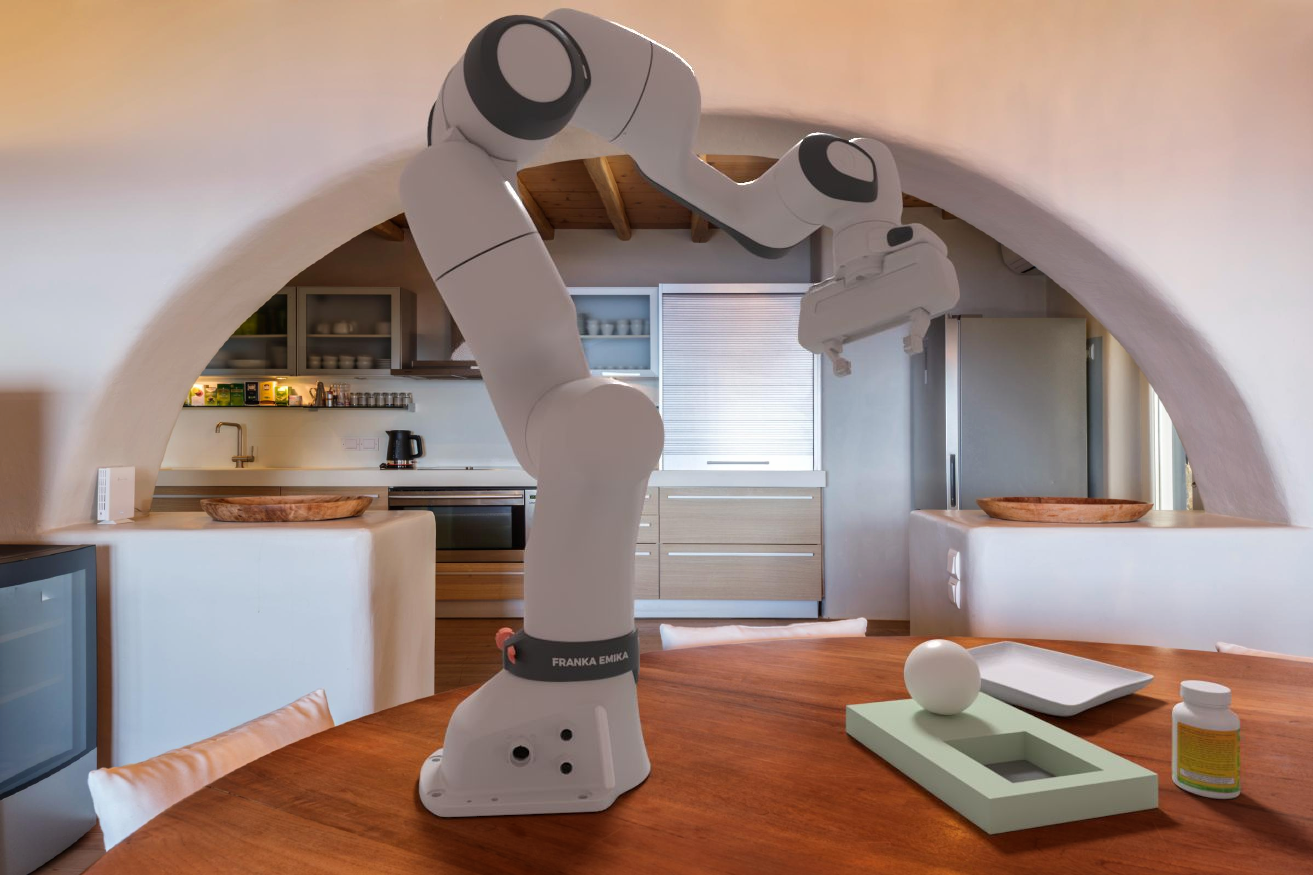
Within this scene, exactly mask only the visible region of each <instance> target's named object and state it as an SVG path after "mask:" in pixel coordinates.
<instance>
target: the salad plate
mask: <svg viewBox="0 0 1313 875" xmlns="http://www.w3.org/2000/svg"><path fill="white" fill-rule="evenodd" d="M965 649H966V648H965ZM966 650H967V651H968V652H969V653H970V654H971V655H972V657H973V658H974V660H975V661H976V663H977V665H978V668H979V671H980V675H981V686H980V691H979V692H982V693H984V694H987V695H989V696H991V697H993V698H995V699H997V700H999V701H1002V702H1004V703H1007V704H1010V705H1015V706H1018V707H1022V708H1025V709H1029V710H1032V711H1035V712H1038V713H1043V714H1045V715H1051V716H1055V717H1058V716H1059V717H1070V716H1074V715H1077V714H1080V713H1081V712H1084V711H1086V710H1088V709H1091V708H1094V707H1097V706H1099V705H1102V704H1104V703H1106V702H1107V703H1108V702H1109V701H1112V700H1115V699H1118V698H1121V697H1125V696H1127V695H1132V694H1133V693H1136V692H1138V691H1141V690H1142V689H1144V688H1146V687H1147V686H1149V685H1150V684H1151V682H1152V681H1154V679H1155V676H1154V675H1153V674H1150V673H1145V672H1142V671H1137V670H1134V669H1129V668H1124V667H1122V666H1118V665H1113V664H1110V663H1105V662H1103V661H1102V662H1101V661H1097V660H1093V659H1090V658H1086V657H1082V656H1079V655H1077V656H1076V655H1073V654H1069V653H1064V652H1060V651H1056V650H1050V649H1047V648H1042V647H1038V646H1033V645H1028V644H1024V643H1019V642H1016V641H1009V640H1008V641H1007V640H1005V641H1004V640H1003V641H999V642H994V643H990V644H985V645H979V646H975V647H971V648H967V649H966Z"/></svg>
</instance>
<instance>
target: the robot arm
mask: <svg viewBox="0 0 1313 875" xmlns="http://www.w3.org/2000/svg"><path fill="white" fill-rule="evenodd" d="M700 88H701V87H700V85H699V82H698V80H697V77H696V75H695V72H694V71H693V68H692V67H691V66H690V65H689V64H688V63H687V62H686V61H685V60H684V59H683V58H681V56H680V55H678V54H677V53H676V52H674V51H673V50H671V49H669V48H667V47H666V46H664V45H662V44H660V43H657V42H656V41H654V40H652V39H650V38H649V37H646V36H644V35H643V34H640V33H638V32H637V31H635V30H633V29H630V28H628V27H625V26H624V25H621V24H619V23H617V22H614V21H611V20H609V19H606V18H602V17H599V16H597V15H594V14H591V13H588V12H584V11H580V10H577V9H572V8H568V7H567V8H566V7H564V8H563V7H561V8H556V9H554V10H551V11H550V12H548V13H547V14H546V15H544V17H542V18H540V17H536V16H532V15H526V14H512V15H506V16H501V17H499V18H496V19H495V20H493V21H490V23H488V24H487V25H485V26H484V27H483V28H482V29H480V30H479V31H478V32H477V33H476V34H475V35H474V36H473V37H472V38H471V40H470V42H469V43H468V46H467V48H466V50H465V52H464V53H463V54H462V55H461V56H460V57H459V60H458V61H457V62H456V63H455V65H453V66H452V67H451V68H450V70H449V71H448V73H447V75H446V76H445V78H444V80H443V82H442V84H441V87H440V90H439V92H438V95H437V98H436V100H435V101H434V103H433V105H432V107H431V109H430V111H429V114H428V119H427V120H428V121H427V127H426V129H427V131H426V132H427V133H426V135H427V136H426V138H427V146H426V147H425V148H423V149H422V150H420V151H419V152H417V154H415V155H414V156H413V157H412V158H411V159H410V160H409V161H408V163H407V164H406V165H405V166H404V168H403V170H402V172H401V173H400V176H399V180H398V194H399V198H400V201H401V205H402V208H403V211H404V216H405V219H406V220H407V224H408V226H409V229H410V232H411V235H412V237H413V239H414V242H415V245H416V247H417V249H418V252H419V254H420V256H421V258H422V260H423V262H424V264H425V267H426V269H427V272H428V273H429V275H430V277H431V278H432V281H433V283H435V284H434V285H435V287H436V289H437V290H438V292H439V294H440V295H441V298H442V299H443V301H444V303H445V305H446V307H447V309H448V311H449V313H450V314H451V316H452V318H453V321H454V322H455V323H456V325H457V328H458V329H459V332H460V333H461V335H462V337H463V339H464V341H465V343H466V344H467V346H468V348H469V350H470V353H471V355H472V357H473V358H474V360H475V363H476V365H477V367H478V370H479V371H480V374H481V377H482V380H483V382H484V383H483V384H484V385H485V388H486V391H487V393H488V396H489V398H490V401H491V403H492V406H493V407H494V411H495V413H496V415H497V418H498V420H499V422H500V425H501V427H502V429H503V431H504V434H505V435H506V437H507V439H508V442H509V444H510V446H511V449H512V453H513V455H514V457H515V458H516V460H517V462H518V464H519V465H520V466H521V468H522V469H523V470H524V471H525V472H526V473H527V474H528V475H529V476H530V477H531V478H532V479H534V480H536V481H537V482H536V492H535V501H534V507H533V514H532V520H531V525H530V530H529V535H528V536H529V537H528V539H527V542H526V545H525V547H524V551H523V627H522V628H520V629H519V630H517V631H516V632H514V631H513V629H511V628H509V627H503V628H500V629H498V632H497V633H496V634H495V643H496V646H497V647H498V649H500V650H501V651H502V666H503V668H502V670H500V671H499V672H498V673H497V674H495V675H494V676H493V677H491V679H489V680H488V681H486V682H485V683H484V684H482V685H481V687H479V688H478V689H477V690H475V691H474V692H472V694H470V695H469V696H467V697H466V698H465V699H464V700H462V701H461V702H460V703H459V704H458V705H457V707H456V708H455V709H454V711H453V713H452V715H451V718H450V720H449V722H448V725H447V728H446V733H445V736H444V741H443V747H442V748H439V749H437V750H435V751H434V752H433V753H431V754H430V755H429V756H428V757H427V758H426V760H425V761H424V762H423V764H422V766H421V769H420V772H419V773H420V774H419V783H418V794H419V798H420V801H421V802H422V804H423V806H424V807H425V808H426V809H427V810H428V811H430V812H431V813H433V814H434V815H436V816H438V817H443V818H444V817H445V818H452V817H477V816H478V817H479V816H481V817H482V816H485V817H486V816H504V815H505V816H507V815H510V816H511V815H533V814H534V815H535V814H539V815H540V814H561V813H563V814H564V813H585V812H586V813H588V812H589V813H591V812H599V811H600V812H602V811H603V810H606V809H607V808H610V806H612V804H614V802H615V801H616V799H617V798H618V797H619V796H620V795H622V794H624V793H626V792H627V791H629V790H632V789H633V788H635V787H636V786H638V785H639V784H641V783H642V782H643V781H644V780H645V779H647V777H648V776H649V774H650V771H651V762H650V759H649V756H648V752H647V748H646V744H645V740H644V736H643V732H642V724H641V719H640V712H639V711H640V710H639V704H638V692H637V684H638V683H639V674H640V671H641V670H640V669H641V668H640V666H641V662H640V660H641V657H640V656H641V655H640V654H641V647H640V646H641V644H640V637H639V628H637V627H636V626H635V580H636V579H635V572H636V570H635V564H636V562H635V561H636V549H637V540H638V536H639V530H640V525H641V519H642V515H643V510H644V505H645V501H646V500H645V499H646V496H647V491H648V486H649V481H650V476H651V475H652V473H653V471H654V470H655V468H656V466H657V465H658V463H659V461H660V459H661V458H662V454H663V450H664V446H665V438H666V437H665V426H664V422H663V419H662V416H661V413H660V412H659V408H657V406H656V404H655V403H654V402H653V401H652V400H651V398H650V396H649V397H648V395H646V394H645V393H644V392H643V391H642V390H639V389H638V388H636V387H635V386H633V385H630V384H628V383H625V382H623V381H620V380H618V379H615V378H611V377H604V376H593V374H592V371H591V369H590V366H589V363H588V360H587V357H586V354H585V350H584V347H583V343H582V340H581V336H580V332H579V327H578V315H577V314H578V312H577V309H576V304H575V303H574V300H573V299H572V296H571V294H570V293H569V291H568V290H569V289H568V288H567V287H566V284H565V283H564V281H563V278H562V276H561V275H560V273H559V270H558V267H557V266H556V264H555V262H554V260H553V259H552V257H551V254H550V253H549V251H548V249H547V247H546V245H545V243H544V241H543V239H542V236H541V235H540V233H539V231H538V229H537V227H536V225H535V224H534V222H533V220H532V218H531V217H530V214H529V213H528V211H527V209H526V207H525V206H524V204H523V200H522V197H521V194H520V190H519V185H518V176H517V175H518V174H520V172H521V171H522V170H523V169H524V168H525V167H527V165H529V164H531V163H532V162H534V161H536V160H537V159H538V158H539V157H541V155H542V154H544V152H545V151H546V150H547V148H548V147H549V146H550V145H551V144H552V142H553V141H554V140H555V138H556V137H557V135H558V133H560V132H561V131H562V130H563V129H564V128H565V127H566V126H569V127H575V128H578V129H582V130H584V131H586V132H588V133H589V134H591V135H593V136H594V137H597V138H599V139H601V140H603V141H606V142H608V143H610V144H612V145H614V146H616V147H617V148H619V149H620V150H622V151H624V152H626V154H627V155H629V156H630V157H631V158H632V162H633V164H634V167H635V169H636V170H637V172H638V174H639V175H640V176H641V177H642V178H643V179H644V180H645V181H646V182H647V183H648V184H650V185H651V186H652V187H653V188H655V189H656V190H658V191H659V192H660V193H662V194H663V195H665V196H667V197H669V198H670V199H672V200H674V202H676V203H678V204H680V205H682V206H683V207H685V208H686V209H687V210H689V211H691V212H693V213H694V214H696V215H698V216H699V217H701V218H702V219H704V220H706V221H708V222H709V223H711V224H713V226H716V227H718V229H721V230H722V231H724V232H725V233H726V234H727V235H729V236H730V237H731V238H732V239H733V240H734V241H735V242H737V243H738V245H740V246H741V247H742V248H743V249H744V250H745V251H747V252H749V253H750V254H751V255H754V256H756V257H759V258H761V259H766V260H778V259H782V258H784V257H785V256H787V255H789V253H790V252H792V251H793V250H794V249H795V248H796V247H797V246H798V245H800V244H801V243H802V242H803V241H804V239H805V238H807V237H808V236H810V235H811V234H813V233H814V232H815V231H816V230H818V229H819V228H821V227H822V226H825V227H828V228H829V229H831V230H832V232H833V234H832V258H833V259H832V260H833V264H832V265H833V276H832V277H831V276H830V277H829V278H826V279H825V280H823V281H821V282H818V283H815V284H812V285H811V286H809V287H808V290H807V291H805V293H804V294H803V296H801V298H800V302H799V303H800V304H799V305H800V309H799V310H800V311H799V316H798V326H797V327H798V328H797V342H798V344H799V345H800V346H801V347H802V348H803V349H804V350H807V351H808V352H809V353H812V354H814V355H821V354H823V353H825V354H826V355H827V357H828V358H829V360H830V361H831V362H832V371H833V375H834V376H836V377H837V378H840V379H841V378H843V377H844V378H845V377H847V376H850V375H851V374H852V369H851V368H852V362H851V361H850V360H847V359H846V358H843V357H841V356H840V354H843V353H844V349H843V348H844V346H846V345H849V344H852V343H855V342H859V341H861V340H862V341H863V340H864V339H867V338H870V337H872V336H876V335H878V334H879V335H880V334H881V333H884V332H887V331H890V330H893V329H895V328H898V327H902V326H904V325H907V324H910V323H913V325H912V327H911V329H910V332H909V335H906V336H905V337H902V343H903V344H904V345H903V350H904V352H905V353H906V354H908V356H913V355H916V354H918V355H919V354H921V353H923V352H924V347H923V346H924V345H923V339H924V338H925V336H926V334H927V331H928V329H929V327H930V325H931V316H934V315H936V314H940V313H942V312H944V311H948V310H951V309H954V308H955V307H956V305H957V304H958V301H959V300H960V298H961V297H960V295H961V293H960V292H961V291H960V286H959V281H958V275H957V272H956V269H955V266H954V264H953V262H952V261H951V260H950V259H949V258H948V247H947V245H946V244H945V242H944V241H943V240H942V239H941V238H940V237H939V236H938V235H937V234H936V233H935V232H934V231H933V230H931V229H930V228H928V227H926V226H925V225H923V224H921V223H920V222H919V223H909V224H908V223H907V224H902V222H901V221H902V213H903V209H904V207H903V206H904V205H903V203H904V202H903V193H902V184H901V180H900V176H899V170H898V168H897V167H898V166H897V165H896V164H897V163H896V161H895V159H894V157H893V154H892V152H891V151H890V148H889V147H888V146H887V145H886V144H885V143H883V142H881V141H879V140H877V139H874V138H869V137H859V138H853V139H851V140H847V139H845V138H842V137H840V136H837V135H834V134H830V133H824V132H823V133H822V132H821V133H820V132H816V133H815V132H814V133H810V134H808V135H807V136H805V137H804V138H803V139H801V140H800V141H799V142H797V144H795V145H794V146H793V147H792V148H790V149H789V150H787V152H786V153H785V154H784V155H782V156H781V157H780V158H779V160H778V161H777V162H776V163H774V164H773V165H772V166H771V167H770V168H769V169H768V170H766V171H765V172H764V173H763V174H762V175H761V176H759V177H758V178H757V179H754V180H753V181H752V180H751V181H749V182H744V183H738V182H736V181H734V180H732V178H730V177H728V176H727V175H725V174H724V173H722V172H720V171H719V170H718V169H716V168H715V167H713V166H712V165H710V164H709V163H707V162H705V160H703V159H701V158H700V157H698V156H697V154H695V152H694V151H693V149H694V145H695V142H696V139H697V136H698V131H699V127H700V122H701V115H702V114H701V113H702V94H701V90H700Z"/></svg>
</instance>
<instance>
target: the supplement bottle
mask: <svg viewBox="0 0 1313 875" xmlns="http://www.w3.org/2000/svg"><path fill="white" fill-rule="evenodd" d="M1179 695H1180V698H1181V699H1182V700H1183V701H1182V702H1178V703H1177V704H1175V705H1174V706H1173V708H1172V712H1171V778H1172V782H1173V783H1174V784H1175V785H1176V786H1178V788H1181V789H1183V790H1184V791H1187V792H1189V793H1192V794H1194V795H1198V796H1201V797H1205V798H1210V799H1217V800H1228V799H1234V798H1237V797H1239V795H1240V794H1241V721H1240V720H1241V719H1240V717H1239V716H1238V715H1237V714H1236V713H1235V712H1234V711H1232V710H1231V709H1229V707H1231V706H1232V689H1230V688H1229V687H1227V686H1225V685H1222V684H1218V683H1215V682H1210V681H1205V680H1196V679H1195V680H1190V679H1189V680H1183V681H1181V682H1180V692H1179Z"/></svg>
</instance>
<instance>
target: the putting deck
mask: <svg viewBox="0 0 1313 875" xmlns="http://www.w3.org/2000/svg"><path fill="white" fill-rule="evenodd" d="M845 732H846V733H847V734H848V735H850V737H853V738H854V739H855V740H857V741H858V742H859V743H861V744H862V745H864V746H865V747H866V748H867V749H869V750H871V752H873V753H874V754H876V755H878V756H879V757H881V758H882V759H883V760H884V761H886V762H888V763H889V764H890V765H891V766H893V767H895V768H896V769H898V770H899V771H900V772H901V773H903V774H904V775H905V776H907V777H909V778H910V779H911V780H913V781H914V782H916V783H917V784H919V785H920V786H921V787H922V788H924V789H925V790H926V791H927V792H929V793H930V794H932V795H933V796H935V797H936V798H938V799H940V800H941V801H942V802H943V803H945V804H946V805H948V806H949V807H951V808H952V809H953V810H955V811H956V812H957V813H958V814H960V815H962V816H963V817H964V818H965V819H968V820H969V821H970V822H971V823H973V824H974V825H976V826H977V827H979V828H980V829H981V830H983V831H984V832H986V834H988V835H995V834H996V835H997V834H1002V833H1007V832H1014V831H1020V830H1025V829H1026V830H1027V829H1033V828H1038V827H1039V828H1040V827H1046V826H1051V825H1052V826H1053V825H1057V824H1063V823H1070V822H1075V821H1084V820H1088V819H1089V820H1090V819H1094V818H1095V819H1096V818H1101V817H1106V816H1107V817H1108V816H1113V815H1119V814H1126V813H1132V812H1140V811H1144V810H1151V809H1157V808H1159V773H1156V772H1154V771H1153V770H1150V769H1148V768H1145V767H1143V766H1142V765H1139V764H1138V763H1135V762H1132V761H1130V760H1128V759H1127V758H1123V757H1122V756H1120V755H1119V754H1116V753H1113V752H1111V751H1109V750H1106V749H1104V748H1103V747H1100V746H1098V745H1096V744H1094V743H1092V742H1090V741H1087V740H1085V739H1083V738H1081V737H1079V736H1077V735H1074V734H1072V733H1070V732H1068V731H1066V730H1064V729H1062V728H1059V727H1057V726H1055V725H1053V724H1051V723H1049V722H1046V721H1045V720H1042V719H1040V718H1038V717H1035V716H1034V715H1032V714H1029V713H1028V712H1026V711H1023V710H1020V709H1019V708H1016V707H1014V706H1012V705H1011V704H1009V703H1007V702H1004V701H1001V700H998V699H995V698H993V697H991V696H989V695H987V694H984V693H982V692H979V694H978V696H977V698H976V700H975V701H974V702H973V704H972V705H971V706H970V707H968V708H967V709H966V710H964V711H962V712H960V713H957V714H953V715H940V714H935V713H932V712H930V711H928V710H926V709H924V708H923V707H921V706H920V705H919V704H918V703H916V701H915V700H914V699H913V698H906V699H898V700H887V701H886V700H885V701H878V702H868V703H858V704H848V705H847V704H846V705H845Z"/></svg>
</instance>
